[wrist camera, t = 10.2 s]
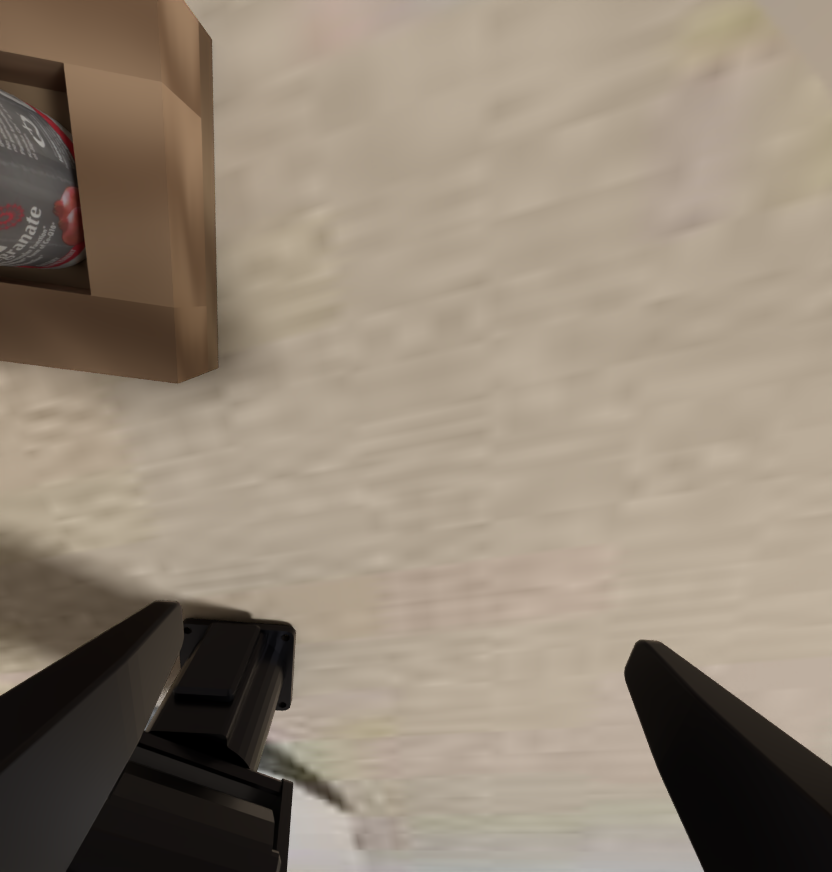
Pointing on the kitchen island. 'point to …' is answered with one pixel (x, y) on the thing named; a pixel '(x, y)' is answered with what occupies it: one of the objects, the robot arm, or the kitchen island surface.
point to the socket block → (120, 188)
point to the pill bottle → (37, 190)
